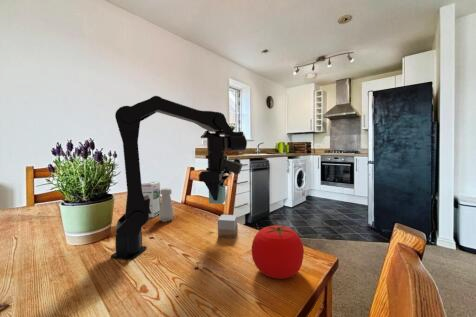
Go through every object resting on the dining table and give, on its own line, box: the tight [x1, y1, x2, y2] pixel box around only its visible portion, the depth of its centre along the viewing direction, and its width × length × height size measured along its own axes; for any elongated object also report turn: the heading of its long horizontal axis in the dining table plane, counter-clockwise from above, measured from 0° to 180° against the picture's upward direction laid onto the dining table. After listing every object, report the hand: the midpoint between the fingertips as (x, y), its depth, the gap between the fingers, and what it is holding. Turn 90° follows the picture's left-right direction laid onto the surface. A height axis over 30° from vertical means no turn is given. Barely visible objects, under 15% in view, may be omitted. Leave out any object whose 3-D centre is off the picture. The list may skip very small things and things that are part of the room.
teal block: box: [208, 185, 227, 205], centre depth 68 cm, size 4×4×5 cm
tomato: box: [251, 224, 305, 280], centre depth 48 cm, size 12×12×10 cm
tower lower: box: [217, 223, 239, 239], centre depth 69 cm, size 6×6×3 cm
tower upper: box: [217, 214, 238, 230], centre depth 69 cm, size 6×6×3 cm
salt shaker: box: [158, 187, 175, 223], centre depth 84 cm, size 6×6×13 cm
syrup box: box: [141, 181, 161, 218], centre depth 90 cm, size 6×6×14 cm
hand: (217, 198), depth 69 cm, fingers closed on teal block, 4 cm apart
